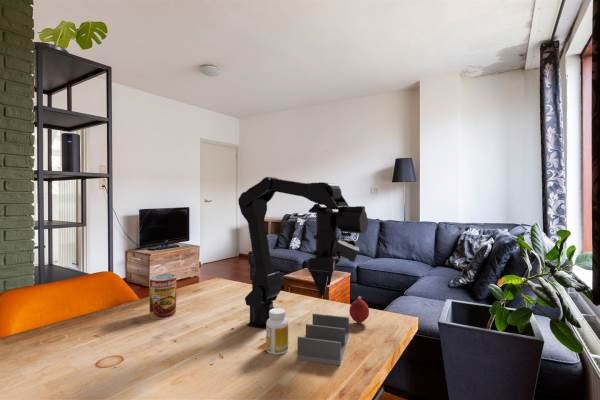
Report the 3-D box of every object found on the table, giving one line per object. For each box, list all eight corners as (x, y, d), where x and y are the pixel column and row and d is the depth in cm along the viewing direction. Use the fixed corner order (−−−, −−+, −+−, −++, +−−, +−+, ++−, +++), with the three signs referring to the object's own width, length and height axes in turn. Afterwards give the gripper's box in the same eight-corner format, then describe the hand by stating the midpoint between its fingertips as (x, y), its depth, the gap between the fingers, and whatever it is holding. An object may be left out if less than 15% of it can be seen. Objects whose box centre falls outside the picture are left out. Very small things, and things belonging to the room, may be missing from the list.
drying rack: (297, 359, 73) (297, 337, 73) (313, 331, 88) (313, 313, 88) (340, 365, 70) (340, 343, 70) (348, 335, 85) (348, 317, 85)
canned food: (153, 321, 95) (153, 281, 95) (146, 313, 101) (146, 276, 101) (179, 315, 100) (179, 277, 100) (172, 308, 106) (172, 272, 106)
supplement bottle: (291, 346, 79) (291, 308, 79) (283, 357, 74) (283, 315, 74) (271, 343, 81) (271, 305, 81) (262, 353, 76) (262, 313, 76)
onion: (369, 328, 90) (369, 300, 90) (348, 326, 91) (349, 299, 91) (368, 320, 96) (369, 294, 96) (349, 319, 97) (350, 293, 97)
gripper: (355, 237, 71) (353, 305, 71) (359, 228, 89) (358, 283, 89) (307, 234, 74) (305, 300, 74) (321, 226, 92) (319, 279, 92)
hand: (325, 290), depth 82 cm, fingers open, 9 cm apart
